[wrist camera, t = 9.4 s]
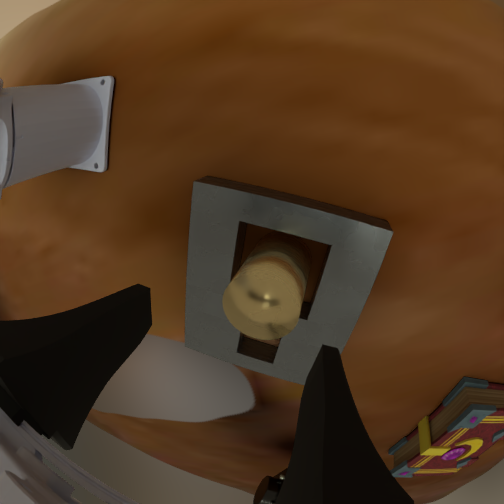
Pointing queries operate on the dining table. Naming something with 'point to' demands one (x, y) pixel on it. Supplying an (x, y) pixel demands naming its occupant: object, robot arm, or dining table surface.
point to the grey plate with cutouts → (228, 263)
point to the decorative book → (453, 431)
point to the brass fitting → (269, 287)
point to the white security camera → (269, 489)
